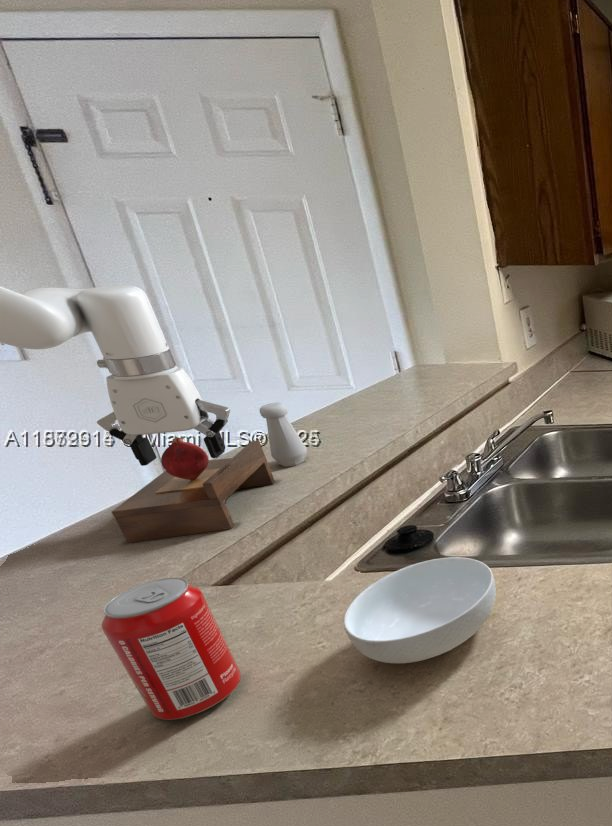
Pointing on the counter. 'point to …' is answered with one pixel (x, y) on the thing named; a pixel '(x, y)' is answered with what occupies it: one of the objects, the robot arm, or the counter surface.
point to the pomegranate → (184, 459)
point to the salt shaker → (283, 436)
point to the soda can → (171, 647)
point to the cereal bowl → (421, 610)
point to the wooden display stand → (192, 498)
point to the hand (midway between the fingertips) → (184, 458)
